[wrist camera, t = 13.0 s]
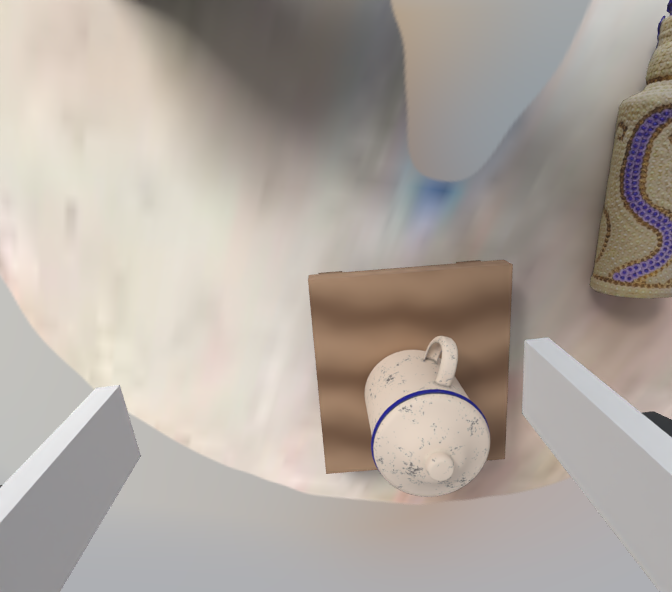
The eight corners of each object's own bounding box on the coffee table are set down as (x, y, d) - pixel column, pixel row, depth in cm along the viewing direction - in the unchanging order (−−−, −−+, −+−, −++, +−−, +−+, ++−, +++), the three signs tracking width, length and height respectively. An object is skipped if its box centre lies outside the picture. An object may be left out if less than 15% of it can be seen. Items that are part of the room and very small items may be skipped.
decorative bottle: (645, 285, 46) (697, 303, 39) (574, 284, 46) (615, 303, 39) (706, 3, 39) (781, -31, 32) (622, 1, 38) (681, -33, 32)
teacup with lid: (440, 440, 43) (481, 535, 32) (351, 421, 42) (361, 512, 31) (480, 328, 40) (541, 390, 29) (384, 306, 39) (409, 361, 28)
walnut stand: (309, 266, 44) (308, 280, 38) (487, 252, 44) (512, 264, 38) (325, 438, 49) (326, 473, 44) (483, 425, 50) (504, 458, 44)
